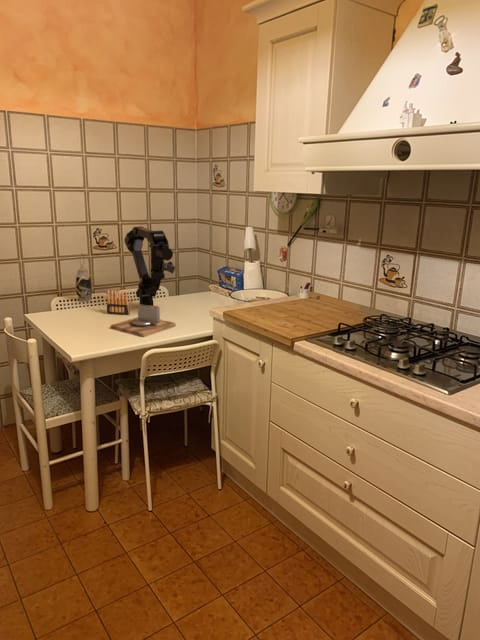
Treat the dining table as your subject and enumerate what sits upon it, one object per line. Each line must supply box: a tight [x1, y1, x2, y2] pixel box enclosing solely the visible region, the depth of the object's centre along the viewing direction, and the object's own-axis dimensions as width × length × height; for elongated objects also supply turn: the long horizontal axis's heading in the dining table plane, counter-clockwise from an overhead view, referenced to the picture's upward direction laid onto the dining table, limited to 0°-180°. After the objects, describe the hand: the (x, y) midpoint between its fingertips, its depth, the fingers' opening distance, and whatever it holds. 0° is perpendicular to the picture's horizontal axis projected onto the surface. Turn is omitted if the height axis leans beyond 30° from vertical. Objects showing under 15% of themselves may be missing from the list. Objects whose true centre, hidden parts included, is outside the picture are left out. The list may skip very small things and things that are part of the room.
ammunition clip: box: [106, 289, 130, 316], centre depth 237 cm, size 11×2×12 cm, turn 83°
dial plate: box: [110, 316, 177, 338], centre depth 218 cm, size 20×20×2 cm
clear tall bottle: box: [75, 253, 93, 302], centre depth 260 cm, size 9×8×25 cm
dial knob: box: [132, 303, 161, 326], centre depth 216 cm, size 13×10×8 cm
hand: (157, 290), depth 236 cm, fingers closed
